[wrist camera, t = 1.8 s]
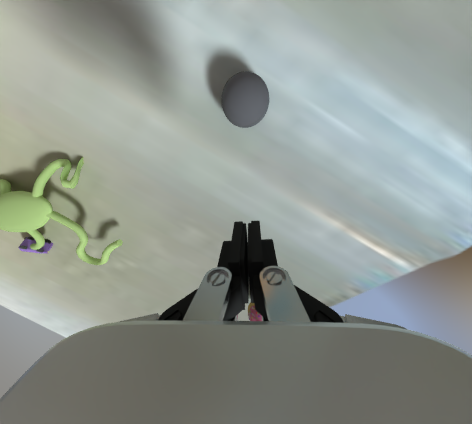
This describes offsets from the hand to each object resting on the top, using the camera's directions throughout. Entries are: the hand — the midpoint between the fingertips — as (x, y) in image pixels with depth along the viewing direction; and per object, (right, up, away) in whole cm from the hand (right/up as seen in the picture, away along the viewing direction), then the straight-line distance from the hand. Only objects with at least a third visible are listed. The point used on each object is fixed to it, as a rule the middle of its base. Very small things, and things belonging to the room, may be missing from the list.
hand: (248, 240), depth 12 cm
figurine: (-34, +3, +21) cm, 40 cm away
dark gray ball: (0, +15, +9) cm, 17 cm away
